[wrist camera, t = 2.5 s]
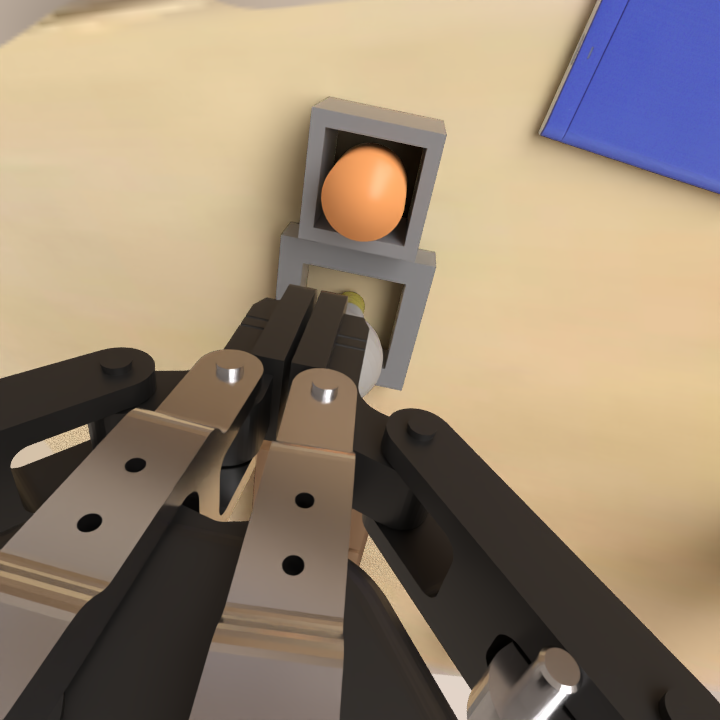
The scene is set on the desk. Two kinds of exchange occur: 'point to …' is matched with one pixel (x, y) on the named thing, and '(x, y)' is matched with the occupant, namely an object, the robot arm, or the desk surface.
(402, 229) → the bulb socket block
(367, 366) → the light bulb
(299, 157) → the desk surface
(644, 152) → the blue book
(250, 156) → the desk surface
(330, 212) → the orange ball
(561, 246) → the desk surface
